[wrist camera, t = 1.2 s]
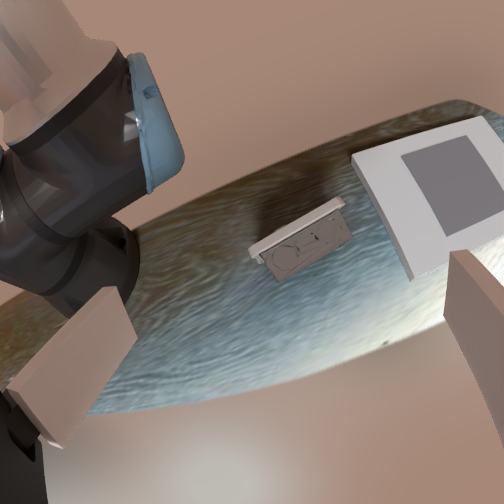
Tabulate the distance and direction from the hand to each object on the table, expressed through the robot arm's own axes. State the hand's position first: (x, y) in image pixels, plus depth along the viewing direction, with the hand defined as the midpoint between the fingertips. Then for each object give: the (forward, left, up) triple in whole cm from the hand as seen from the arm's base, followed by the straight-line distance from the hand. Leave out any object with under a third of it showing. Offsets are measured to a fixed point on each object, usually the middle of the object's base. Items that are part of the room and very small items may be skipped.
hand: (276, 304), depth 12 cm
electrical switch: (-4, +9, -22) cm, 24 cm away
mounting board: (+11, +23, -22) cm, 34 cm away
